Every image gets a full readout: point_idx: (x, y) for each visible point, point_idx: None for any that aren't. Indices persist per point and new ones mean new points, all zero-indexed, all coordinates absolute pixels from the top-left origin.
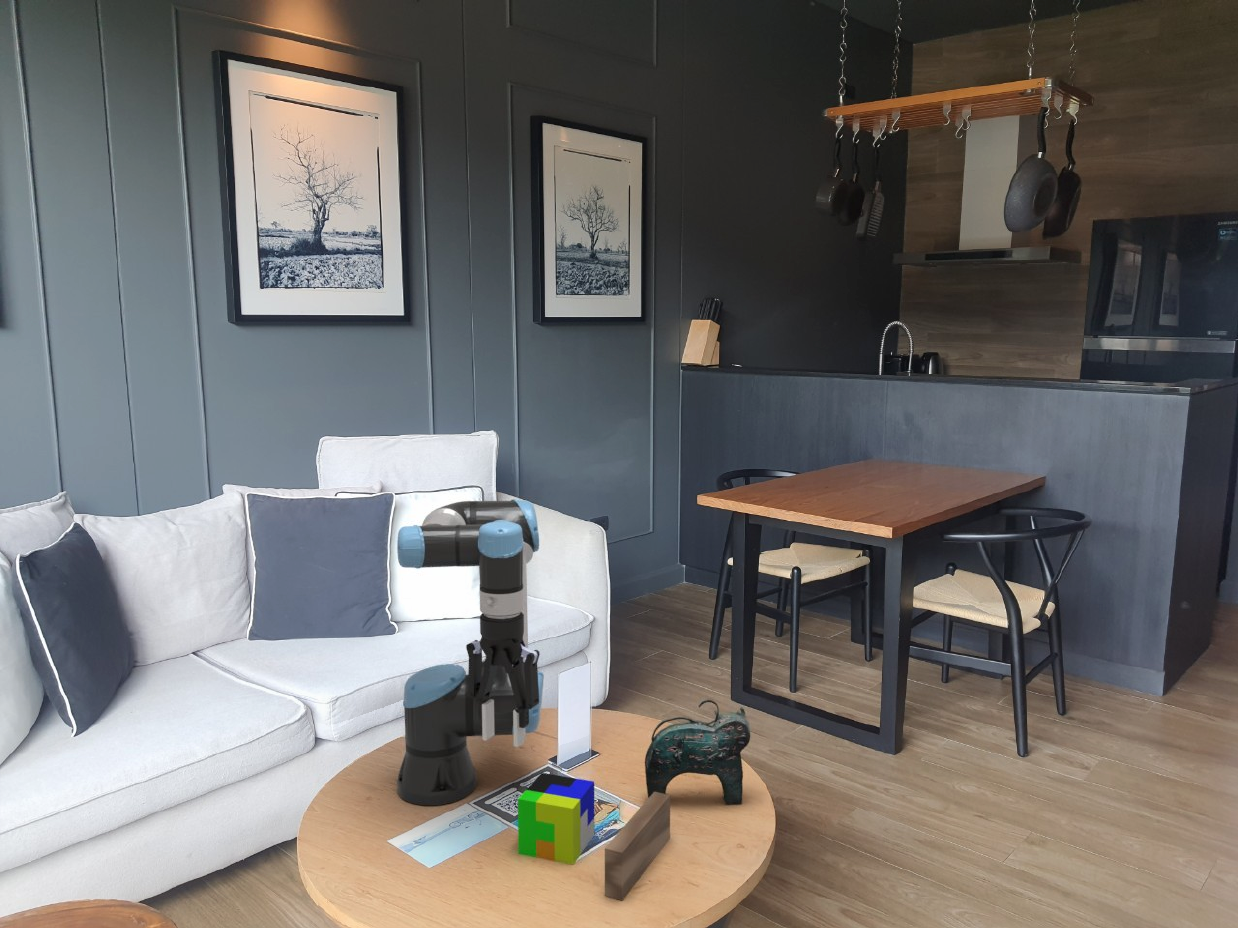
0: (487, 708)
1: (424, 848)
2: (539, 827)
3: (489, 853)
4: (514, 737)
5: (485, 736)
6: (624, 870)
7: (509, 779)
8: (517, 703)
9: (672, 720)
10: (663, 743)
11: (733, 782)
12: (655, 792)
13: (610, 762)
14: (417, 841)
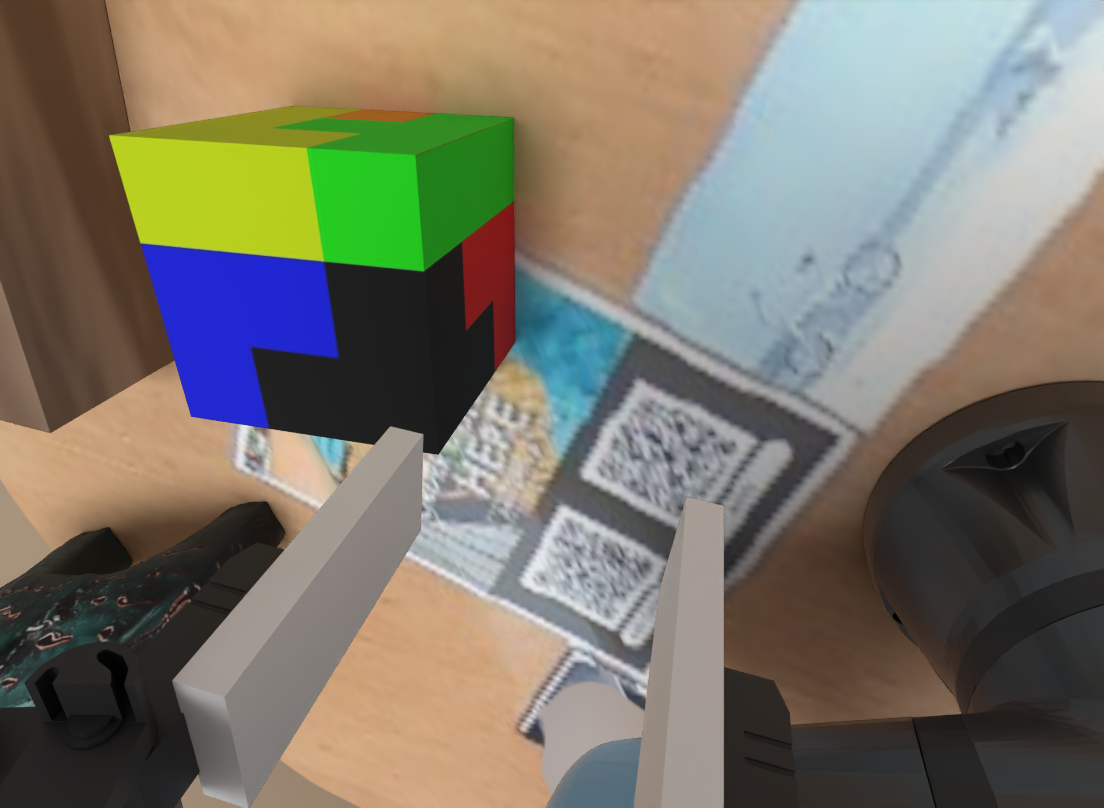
0: (654, 788)
1: (975, 15)
2: (360, 128)
3: (632, 79)
4: (380, 477)
5: (690, 520)
6: None
7: (746, 595)
8: (81, 788)
9: None
10: None
11: (32, 570)
12: (43, 427)
13: (470, 692)
14: (1034, 70)
